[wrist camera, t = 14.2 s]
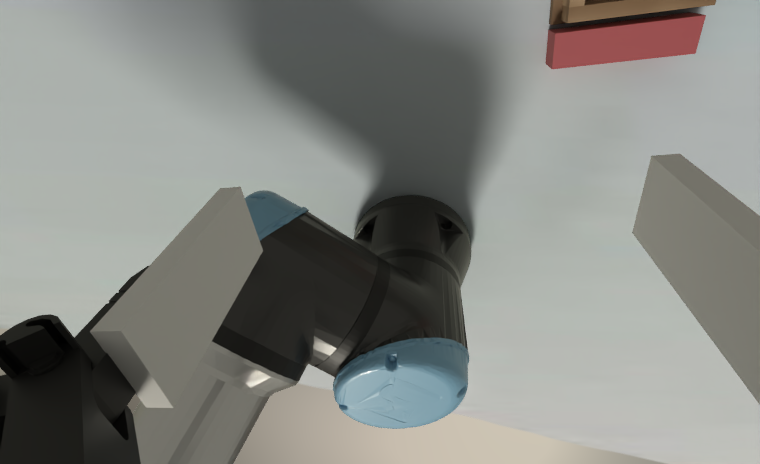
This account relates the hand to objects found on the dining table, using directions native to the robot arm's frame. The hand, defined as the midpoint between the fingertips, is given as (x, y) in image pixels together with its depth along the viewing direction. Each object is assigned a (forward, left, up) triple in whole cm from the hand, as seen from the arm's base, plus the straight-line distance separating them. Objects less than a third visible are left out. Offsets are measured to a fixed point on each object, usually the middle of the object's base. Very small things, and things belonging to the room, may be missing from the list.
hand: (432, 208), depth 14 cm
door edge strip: (-2, -17, -32) cm, 36 cm away
